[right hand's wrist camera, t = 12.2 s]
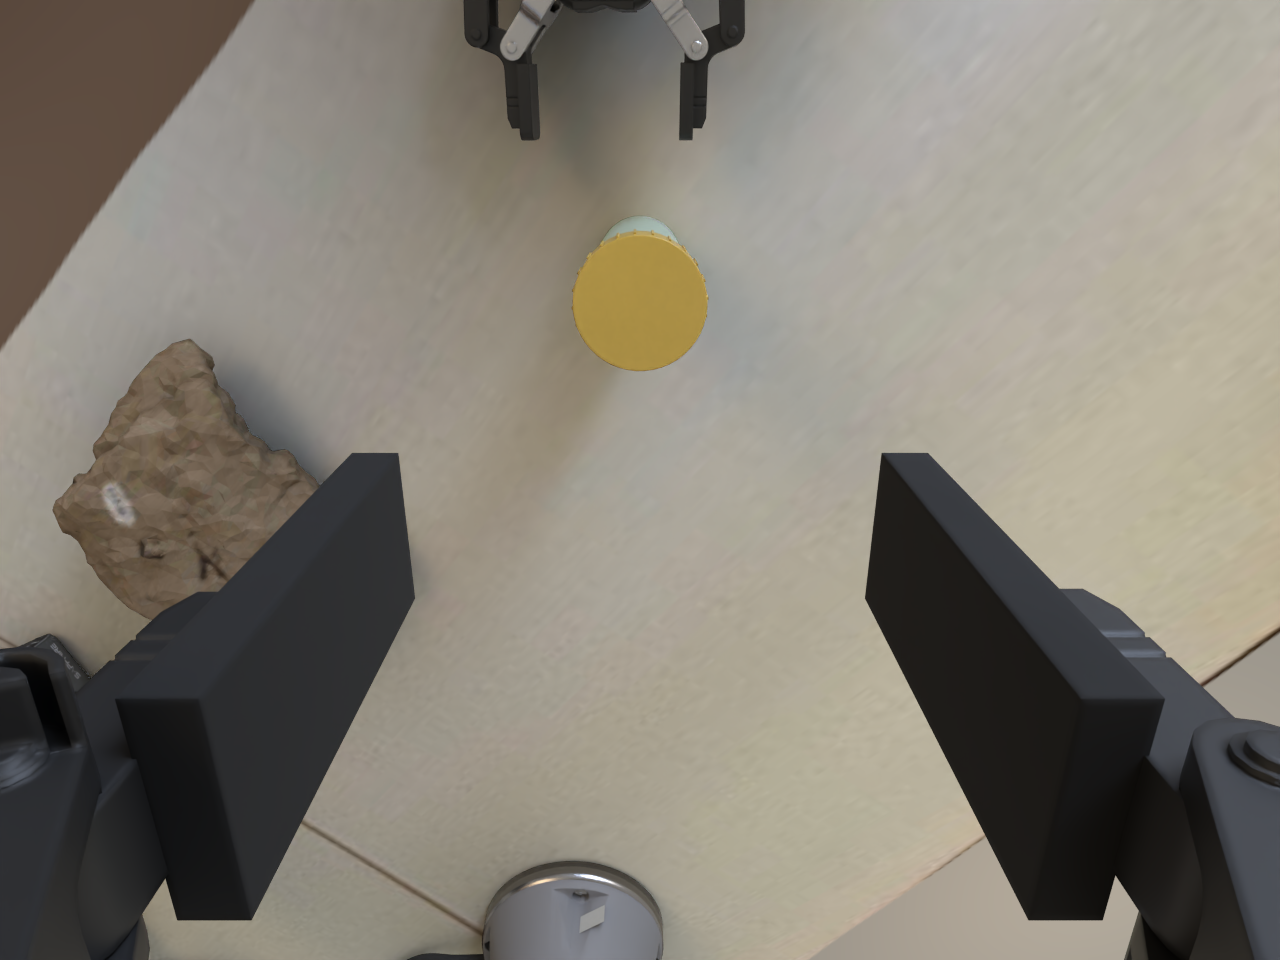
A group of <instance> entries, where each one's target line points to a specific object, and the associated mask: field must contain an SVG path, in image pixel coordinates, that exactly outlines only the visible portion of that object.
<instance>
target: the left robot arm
mask: <svg viewBox="0 0 1280 960" xmlns="http://www.w3.org/2000/svg"><path fill="white" fill-rule="evenodd" d="M651 1H652V3H653V4H654V6H655V7H656V9H657V11H658V12H659V14H660V15H661V17H662V18H663V20H664V21H665V23H666V24H667V26H668V27H669V29H670V30H671V32H672V33H673V35H674V36H675V38H676V39H677V41H678V43H679V44H680V46H681V47H682V49H683V50H684V52H685V59H684V63H681V75H680V128H679V140H692V139H693V128H702V127H703V124H704V122H705V119H706V103H707V72H708V64H709V61H710V60H711V58H712V57H713V56H714V55H716V54H717V53H720V52H722V51H725V50H727V49H730V48H732V47H735V46H737V45H738V44H739V43H740V42H741V41H742V39H743V37H744V34H745V0H719V18H720V24H718V25H715V26H713V27H711V28H708V29H706V30H703V31H701V30H700V29H699V27H698V25H697V24H696V22H695V21H694V19H693V18H692V16H691V15H690V13H689V11H688V10H687V8H686V7H685V5H684V3H683V2H682V0H523V1H522V3H521V6H520V10H519V12H518V14H517V15H516V17H515V19H514V20H513V22H512V24H511V25H510V27H509V29H508V30H507V31H506V30H503V29H501V28H498V0H464V29H465V38H466V40H467V42H468V43H469V44H470V45H471V46H473V47H478V48H480V49H483V50H485V51H488V52H490V53H493V54H495V55H497V56H498V57H499V58H500V59H501V61H502V62H503V65H504V69H505V83H506V97H507V114H508V120H509V122H510V125H511V127H512V128H520V136H521V140H537V139H539V137H540V120H539V100H538V80H537V64H532V53H533V51H534V50H535V48H536V47H537V45H538V43H539V42H540V40H541V38H542V37H543V35H544V34H545V32H546V30H547V29H548V28H549V27H550V26H551V25H552V23H553V22H554V20H555V19H556V17H557V16H558V14H559V12H560V11H561V9H562V7H563V6H564V5H565V6H566V7H568V8H570V9H572V10H574V11H576V12H578V13H588V12H595V11H599V10H602V9H605V8H610V9H613V10H616V11H620V12H637V10H640V9H642V8H644V7H645V6H646V5H648V4H649V3H650V2H651Z"/></svg>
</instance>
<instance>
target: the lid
mask: <svg viewBox="0 0 1280 960" xmlns="http://www.w3.org/2000/svg"><path fill="white" fill-rule="evenodd" d="M697 265H698V263H697V262H696V260H695V258H694V259H692V257H691V256H690V255H689V253H688V252H687V250H686V248H685V246H684V245H683V246H681V245H679V244H678V243H677V242H675V241H674V240H672V239H671V237H670V236H669V235H668V237H666V236H664V235H662V234H658V233H655V232H654V230H651V232H650V231H636V229H634V231H630V232H625V233H622V234H619V232H618V233H617V234H616V236H614V237H611V238H610V239H608V240H606V241H605V242H604V241H601V243H600V245H599V246H598V247H597V248H596V249H595V250H594V251H593V252H592V253H591V252H590V253H589V254H588V256H587V260H586V262H585V264H584V265H583V267H580V269H579V271H578V273H577V274H578V278H577V281H576V283H575V285H574V287H573V289H572V292H573V306H572V310H573V314H574V319H575V322H576V327H577V328H578V331H579V333H580V335H581V337H582V338H583V340H584V342H585V343H586V344H587V346H588V347H589V348H590V349H591V350H592V351H593V352H594V353H595V354H596V355H597V356H598V357H600V358H601V359H603V360H604V361H606V362H607V363H609V364H611V365H614V366H616V367H619V368H622V369H626V370H632V371H648V370H654V369H658V368H662V367H664V366H666V365H669V364H671V363H672V362H674V361H676V360H678V359H679V358H680V357H681V356H683V355H684V354H685V353H686V352H687V351H688V350H689V349H690V348H691V347H692V345H693V344H694V343H695V342H696V340H697V338H698V337H699V335H700V334H701V331H702V328H703V326H704V322H705V319H706V317H707V314H706V313H707V300H708V295H707V292H706V288H705V284H704V282H706V281H705V278H704V277H703V275H702V274H701V273H700V271H699V269H698V267H697Z"/></svg>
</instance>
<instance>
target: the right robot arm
mask: <svg viewBox="0 0 1280 960" xmlns="http://www.w3.org/2000/svg"><path fill="white" fill-rule="evenodd" d="M414 599H415V595H414V586H413V577H412V568H411V560H410V551H409V542H408V534H407V525H406V516H405V508H404V499H403V490H402V482H401V473H400V464H399V456H398V453H352V454H351V455H350V456H349V457H348V458H347V459H346V460H345V461H344V462H343V463H342V464H341V465H340V466H339V467H338V468H337V469H336V470H335V471H334V472H333V473H332V474H331V475H330V477H329V478H328V479H327V480H326V481H325V482H324V483H323V484H322V485H321V486H320V487H319V488H318V489H317V490H316V491H315V492H314V493H313V494H312V495H311V496H310V497H309V498H308V499H307V500H306V501H305V502H304V503H303V504H302V505H301V507H300V508H299V509H298V510H297V511H296V512H295V513H294V514H293V515H292V516H291V517H290V518H289V519H288V520H287V521H286V522H285V523H284V524H283V525H282V526H281V527H280V528H279V529H278V530H277V531H276V532H275V533H274V534H273V535H272V536H271V538H270V539H269V540H268V541H267V542H266V543H265V544H264V545H263V546H262V547H261V548H260V549H259V550H258V551H257V552H256V553H255V554H254V555H253V556H252V557H251V558H250V559H249V560H248V561H247V562H246V563H245V564H244V565H243V566H242V568H241V569H240V570H239V571H238V572H237V573H236V574H235V575H234V576H233V577H232V578H231V579H230V580H229V581H228V582H227V583H226V584H225V585H224V586H223V587H222V588H221V589H220V590H219V591H218V592H196V593H194V594H193V595H191V596H189V597H187V598H185V599H183V600H182V601H180V602H178V603H176V604H174V605H173V606H171V607H169V608H167V609H165V610H163V611H162V612H160V613H159V614H158V615H157V616H156V617H155V618H154V619H153V620H152V621H151V622H150V623H149V624H148V625H147V626H146V627H145V628H143V629H142V630H141V631H140V632H139V633H138V634H137V635H136V640H131V641H130V642H129V643H128V644H127V645H126V646H125V647H124V648H122V649H121V650H120V651H119V652H118V653H117V654H116V655H115V660H114V661H109V662H108V663H107V664H106V665H105V666H104V667H103V668H101V669H100V670H99V671H98V672H97V673H96V674H95V675H94V676H93V677H92V678H91V679H90V680H89V681H88V682H87V683H86V684H85V685H84V686H83V687H82V688H80V689H79V690H78V691H77V692H76V693H75V692H74V689H73V685H72V682H71V679H70V676H69V672H68V669H67V666H66V662H65V659H64V657H62V656H61V655H59V654H58V653H56V652H54V651H53V650H51V649H46V648H37V647H28V646H26V647H16V648H6V649H0V960H148V958H149V951H150V947H149V940H148V934H147V929H146V926H145V922H144V919H143V916H142V913H143V912H144V910H145V909H146V907H147V905H148V904H149V902H150V901H151V899H152V898H153V896H154V895H155V893H156V892H157V890H158V889H159V887H160V886H161V884H162V883H163V881H164V880H165V878H166V882H167V885H168V889H169V892H170V896H171V899H172V903H173V907H174V910H175V914H176V917H177V920H252V918H253V916H254V914H255V912H256V910H257V908H258V906H259V904H260V902H261V900H262V898H263V896H264V894H265V893H266V891H267V889H268V887H269V885H270V883H271V881H272V879H273V877H274V875H275V873H276V871H277V869H278V867H279V865H280V863H281V861H282V859H283V857H284V855H285V853H286V851H287V849H288V847H289V845H290V843H291V841H292V839H293V837H294V835H295V833H296V831H297V830H298V828H299V826H300V824H301V822H302V820H303V818H304V816H305V814H306V812H307V810H308V808H309V806H310V804H311V802H312V800H313V798H314V796H315V794H316V792H317V790H318V788H319V786H320V784H321V782H322V780H323V778H324V776H325V774H326V772H327V770H328V768H329V767H330V765H331V763H332V761H333V759H334V757H335V755H336V753H337V751H338V749H339V747H340V745H341V743H342V741H343V739H344V737H345V735H346V733H347V731H348V729H349V727H350V725H351V723H352V721H353V719H354V717H355V715H356V713H357V711H358V709H359V707H360V706H361V704H362V702H363V700H364V698H365V696H366V694H367V692H368V690H369V688H370V686H371V684H372V682H373V680H374V678H375V676H376V674H377V672H378V670H379V668H380V666H381V664H382V662H383V660H384V658H385V656H386V654H387V652H388V650H389V648H390V646H391V644H392V643H393V641H394V639H395V637H396V635H397V633H398V631H399V629H400V627H401V625H402V623H403V621H404V619H405V617H406V615H407V613H408V611H409V609H410V607H411V605H412V603H413V601H414ZM865 599H866V601H867V603H868V605H869V607H870V609H871V611H872V613H873V615H874V617H875V619H876V621H877V623H878V625H879V627H880V629H881V631H882V633H883V635H884V637H885V639H886V641H887V643H888V645H889V646H890V648H891V650H892V652H893V654H894V656H895V658H896V660H897V662H898V664H899V666H900V668H901V670H902V672H903V674H904V676H905V678H906V680H907V682H908V684H909V686H910V688H911V690H912V692H913V694H914V696H915V698H916V700H917V702H918V704H919V706H920V707H921V709H922V711H923V713H924V715H925V717H926V719H927V721H928V723H929V725H930V727H931V729H932V731H933V733H934V735H935V737H936V739H937V741H938V743H939V745H940V747H941V749H942V751H943V753H944V755H945V757H946V759H947V761H948V763H949V765H950V767H951V769H952V770H953V772H954V774H955V776H956V778H957V780H958V782H959V784H960V786H961V788H962V790H963V792H964V794H965V796H966V798H967V800H968V802H969V804H970V806H971V808H972V810H973V812H974V814H975V816H976V818H977V820H978V822H979V824H980V826H981V828H982V830H983V832H984V833H985V835H986V837H987V839H988V841H989V843H990V845H991V847H992V849H993V851H994V853H995V855H996V857H997V859H998V861H999V863H1000V865H1001V867H1002V869H1003V871H1004V873H1005V875H1006V877H1007V879H1008V881H1009V883H1010V885H1011V887H1012V888H1013V890H1014V893H1015V894H1016V896H1017V898H1018V900H1019V902H1020V904H1021V906H1022V908H1023V910H1024V912H1025V914H1026V916H1027V918H1028V920H1103V917H1104V913H1105V910H1106V906H1107V903H1108V899H1109V896H1110V892H1111V889H1112V885H1113V881H1114V878H1115V875H1116V877H1117V878H1118V880H1119V881H1120V883H1121V884H1122V886H1123V887H1124V889H1125V890H1126V892H1127V893H1128V895H1129V896H1130V898H1131V899H1132V901H1133V902H1134V904H1135V905H1136V907H1137V908H1138V910H1139V913H1138V916H1137V919H1136V923H1135V926H1134V929H1133V932H1132V936H1131V939H1130V942H1129V945H1128V949H1127V952H1126V955H1125V959H1124V960H1280V727H1278V726H1275V725H1271V724H1268V723H1265V722H1261V721H1256V720H1247V719H1239V718H1235V717H1233V716H1232V715H1231V714H1230V713H1229V712H1228V711H1227V710H1226V709H1225V708H1224V707H1223V706H1222V705H1221V704H1220V703H1219V702H1218V701H1217V700H1215V699H1214V698H1213V697H1212V696H1211V695H1210V694H1209V693H1208V692H1207V691H1206V690H1205V689H1204V688H1203V687H1202V686H1201V685H1200V684H1199V683H1198V682H1196V681H1195V680H1194V679H1193V678H1192V677H1191V676H1190V675H1189V674H1188V673H1187V672H1186V671H1185V670H1184V669H1183V668H1182V667H1181V666H1180V665H1178V664H1177V663H1176V662H1175V661H1174V660H1173V659H1172V658H1166V652H1165V651H1164V650H1163V649H1162V648H1160V647H1159V646H1158V645H1157V644H1156V643H1155V642H1154V641H1153V640H1152V639H1151V638H1150V637H1145V632H1144V631H1143V630H1141V629H1140V628H1139V627H1138V626H1137V625H1136V624H1135V623H1134V622H1133V621H1132V620H1131V619H1130V618H1129V617H1128V616H1127V615H1126V614H1125V613H1123V612H1122V611H1121V610H1120V609H1119V608H1117V607H1115V606H1113V605H1111V604H1110V603H1108V602H1106V601H1104V600H1102V599H1100V598H1099V597H1097V596H1095V595H1093V594H1091V593H1089V592H1088V591H1086V590H1084V589H1059V588H1058V587H1057V586H1056V585H1055V584H1054V583H1053V582H1052V581H1051V580H1050V579H1049V578H1048V577H1047V576H1046V575H1045V574H1044V573H1043V572H1042V571H1041V570H1040V569H1039V568H1038V567H1037V565H1036V564H1035V563H1034V562H1033V561H1032V560H1031V559H1030V558H1029V557H1028V556H1027V555H1026V554H1025V553H1024V552H1023V551H1022V550H1021V549H1020V548H1019V547H1018V546H1017V545H1016V544H1015V543H1014V542H1013V541H1012V540H1011V539H1010V538H1009V537H1008V535H1007V534H1006V533H1005V532H1004V531H1003V530H1002V529H1001V528H1000V527H999V526H998V525H997V524H996V523H995V522H994V521H993V520H992V519H991V518H990V517H989V516H988V515H987V514H986V513H985V512H984V511H983V510H982V509H981V508H980V507H979V505H978V504H977V503H976V502H975V501H974V500H973V499H972V498H971V497H970V496H969V495H968V494H967V493H966V492H965V491H964V490H963V489H962V488H961V487H960V486H959V485H958V484H957V483H956V482H955V481H954V480H953V479H952V478H951V477H950V475H949V474H948V473H947V472H946V471H945V470H944V469H943V468H942V467H941V466H940V465H939V464H938V463H937V462H936V461H935V460H934V459H933V458H932V457H931V456H930V455H929V454H928V453H882V455H881V464H880V473H879V482H878V490H877V499H876V508H875V516H874V525H873V534H872V542H871V551H870V560H869V568H868V577H867V586H866V594H865ZM482 948H483V954H473V955H448V954H437V953H429V954H421V955H418V956H415V957H412V958H410V959H408V960H661V959H662V955H663V923H662V917H661V913H660V910H659V908H658V906H657V904H656V902H655V900H654V899H653V897H652V896H651V895H650V893H649V892H648V891H647V890H646V889H645V888H644V887H643V886H642V885H640V884H639V883H638V882H637V881H635V880H634V879H633V878H631V877H629V876H628V875H626V874H624V873H622V872H620V871H618V870H615V869H612V868H610V867H606V866H603V865H599V864H595V863H588V862H578V861H565V862H555V863H549V864H544V865H540V866H537V867H534V868H531V869H529V870H527V871H524V872H522V873H520V874H519V875H517V876H515V877H514V878H512V879H511V880H509V881H508V882H507V883H506V884H505V885H504V886H503V887H502V888H501V889H500V890H499V891H498V892H497V893H496V895H495V896H494V898H493V899H492V901H491V903H490V906H489V908H488V911H487V915H486V920H485V925H484V930H483V936H482Z"/></svg>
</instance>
